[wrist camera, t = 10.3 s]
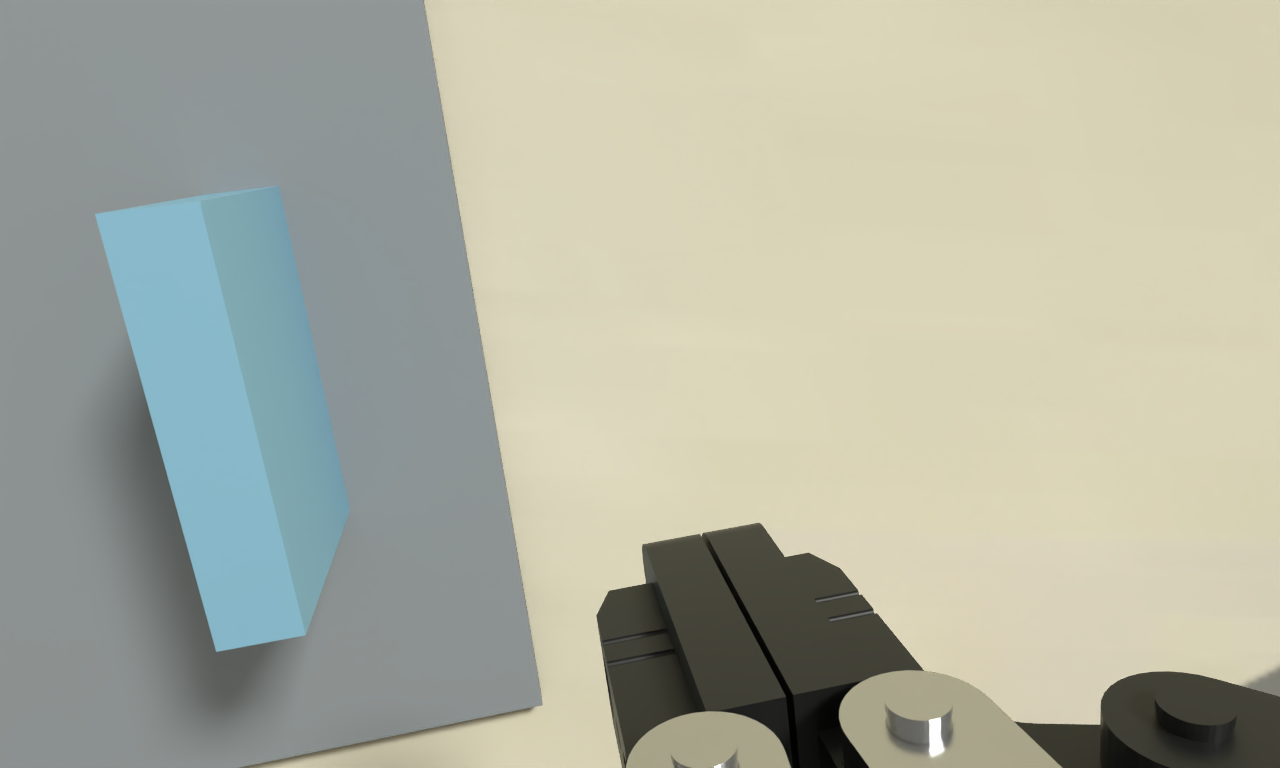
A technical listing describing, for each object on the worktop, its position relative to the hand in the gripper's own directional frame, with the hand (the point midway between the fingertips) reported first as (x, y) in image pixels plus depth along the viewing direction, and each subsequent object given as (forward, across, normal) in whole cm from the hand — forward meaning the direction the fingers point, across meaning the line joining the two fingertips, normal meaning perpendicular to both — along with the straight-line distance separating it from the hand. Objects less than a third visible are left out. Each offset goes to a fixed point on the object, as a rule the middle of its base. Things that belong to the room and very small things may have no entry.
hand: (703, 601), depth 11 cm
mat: (+12, +10, 0) cm, 16 cm away
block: (+12, +7, -2) cm, 14 cm away
